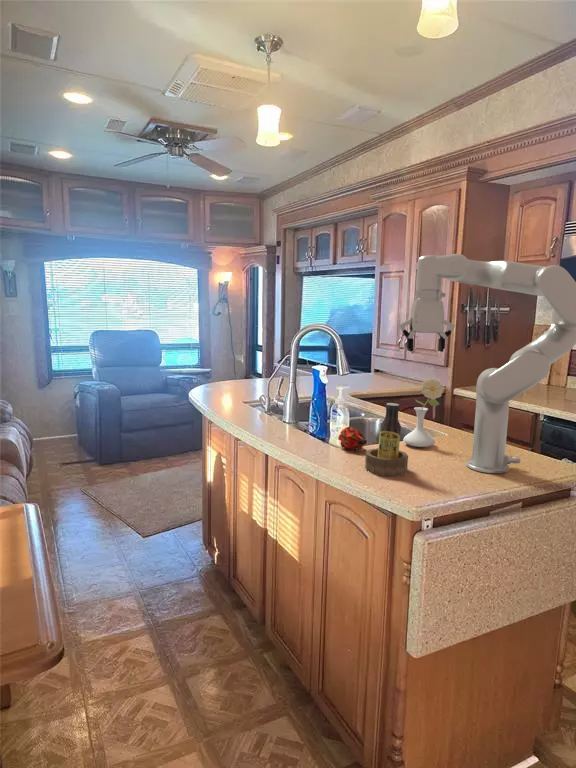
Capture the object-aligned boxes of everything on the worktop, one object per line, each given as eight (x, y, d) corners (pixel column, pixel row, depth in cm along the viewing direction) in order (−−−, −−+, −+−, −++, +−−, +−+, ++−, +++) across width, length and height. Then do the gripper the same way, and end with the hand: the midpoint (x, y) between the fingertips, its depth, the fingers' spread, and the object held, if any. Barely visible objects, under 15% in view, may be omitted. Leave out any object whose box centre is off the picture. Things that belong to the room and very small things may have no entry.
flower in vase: (401, 447, 180) (405, 379, 177) (404, 440, 191) (407, 375, 187) (439, 451, 176) (444, 381, 173) (439, 443, 187) (444, 377, 184)
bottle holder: (400, 463, 161) (401, 448, 160) (411, 476, 149) (412, 460, 148) (362, 463, 161) (363, 448, 160) (369, 475, 149) (370, 459, 148)
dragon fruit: (342, 448, 184) (361, 461, 174) (328, 437, 180) (346, 450, 169) (356, 429, 184) (375, 441, 174) (342, 418, 180) (361, 430, 170)
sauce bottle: (375, 468, 153) (378, 404, 150) (379, 462, 159) (382, 401, 156) (396, 471, 151) (400, 406, 148) (399, 465, 156) (403, 403, 153)
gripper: (451, 297, 160) (448, 350, 163) (397, 296, 160) (395, 350, 162) (460, 296, 153) (456, 352, 155) (404, 295, 152) (401, 352, 155)
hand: (425, 351), depth 159 cm, fingers open, 9 cm apart
